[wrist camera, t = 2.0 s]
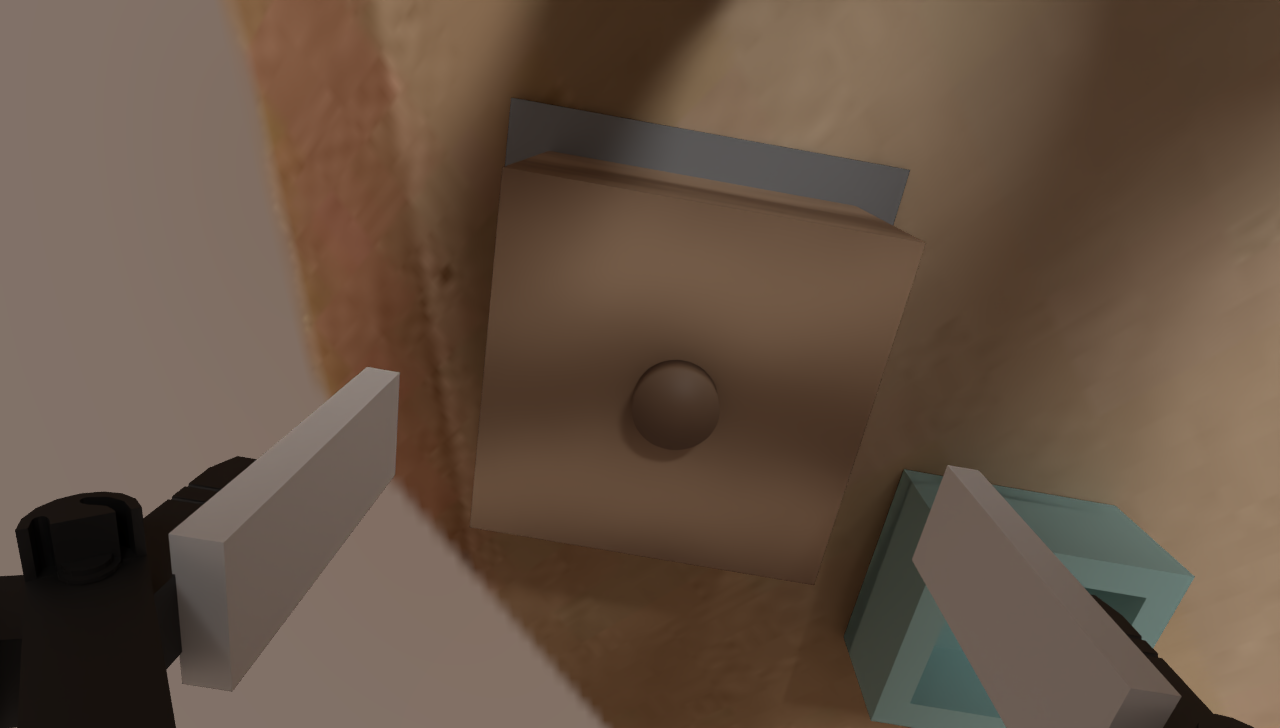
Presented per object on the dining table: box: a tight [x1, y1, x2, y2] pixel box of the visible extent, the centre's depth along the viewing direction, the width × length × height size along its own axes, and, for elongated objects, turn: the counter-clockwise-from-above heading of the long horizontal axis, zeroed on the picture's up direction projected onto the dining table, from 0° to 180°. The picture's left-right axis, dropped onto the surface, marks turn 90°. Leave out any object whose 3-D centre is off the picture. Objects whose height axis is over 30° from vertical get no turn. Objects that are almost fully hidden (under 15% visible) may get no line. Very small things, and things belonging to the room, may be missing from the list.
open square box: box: [844, 469, 1195, 728], centre depth 27 cm, size 9×9×4 cm
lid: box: [470, 151, 926, 585], centre depth 22 cm, size 11×11×8 cm
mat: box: [505, 98, 910, 225], centre depth 26 cm, size 14×14×1 cm
